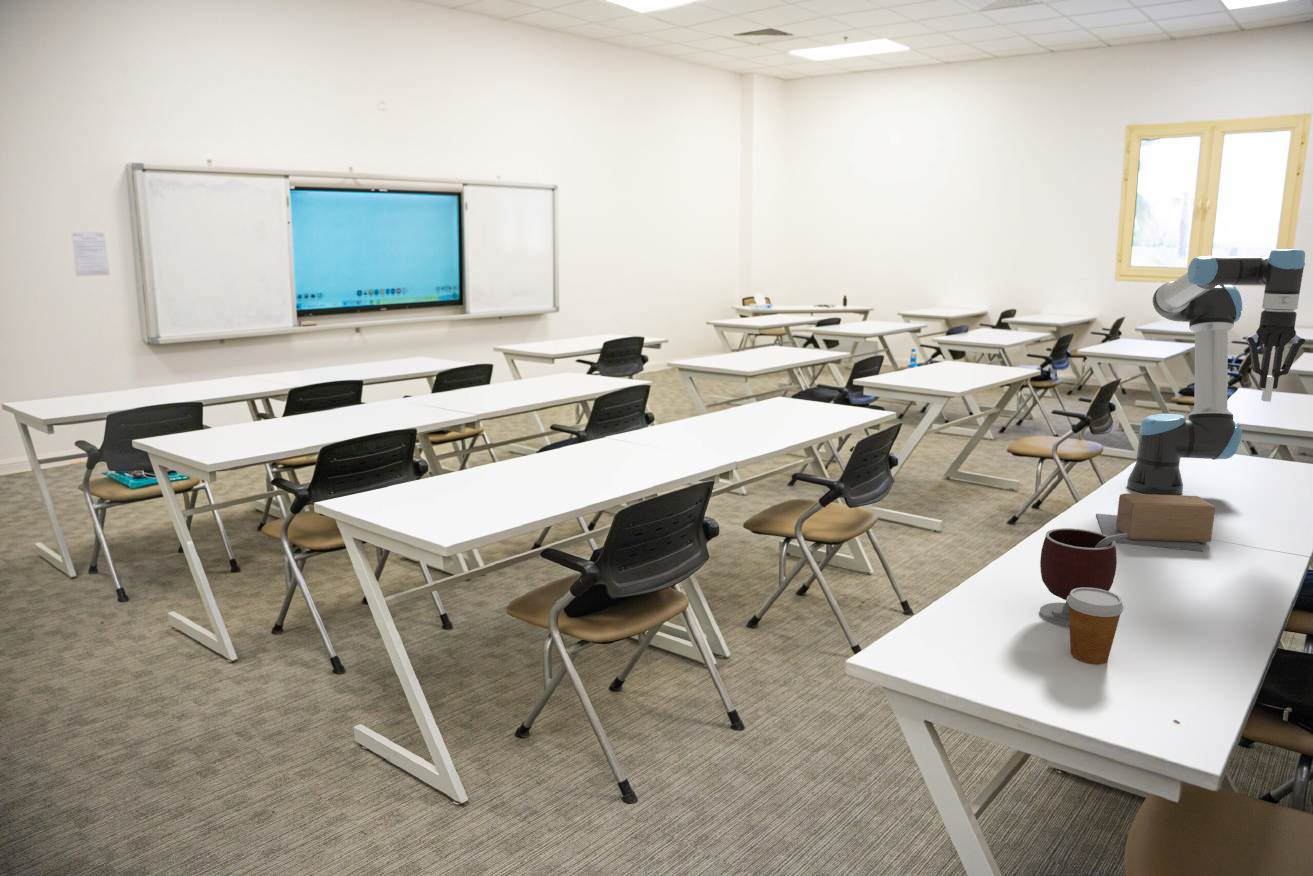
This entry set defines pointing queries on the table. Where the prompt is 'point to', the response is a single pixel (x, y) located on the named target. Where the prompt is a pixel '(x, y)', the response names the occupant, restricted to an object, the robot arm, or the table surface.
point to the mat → (1110, 529)
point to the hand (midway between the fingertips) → (1265, 400)
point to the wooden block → (1165, 517)
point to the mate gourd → (1075, 566)
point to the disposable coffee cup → (1093, 623)
